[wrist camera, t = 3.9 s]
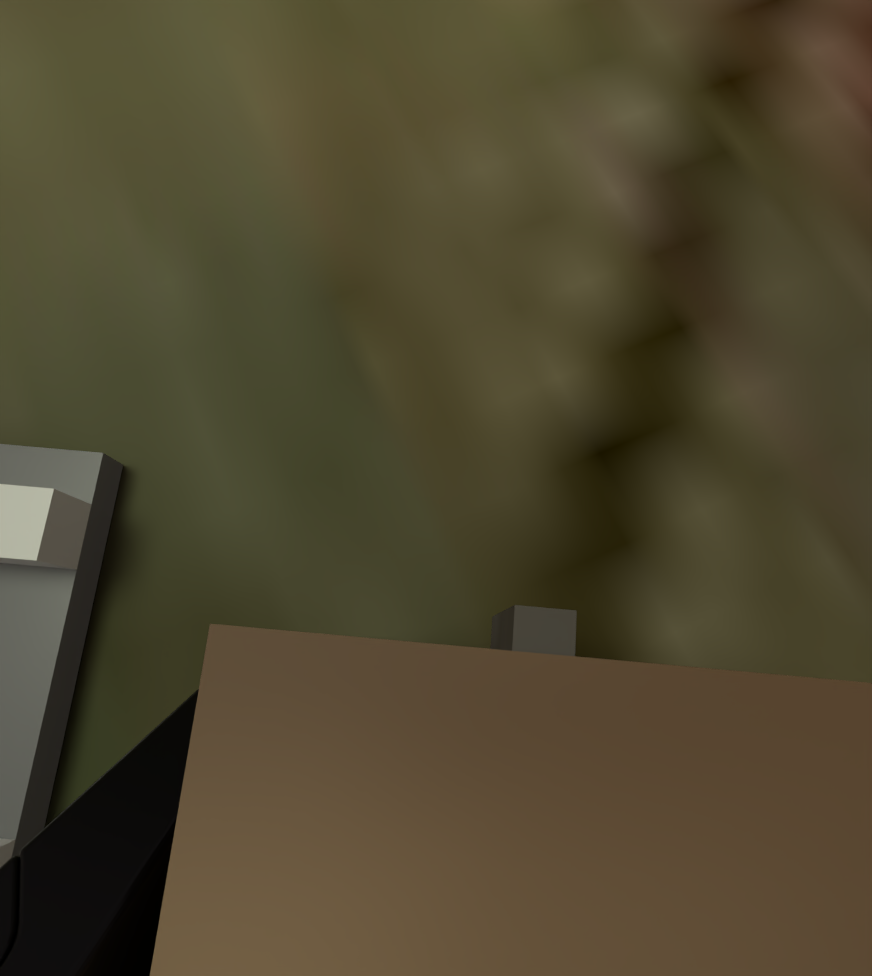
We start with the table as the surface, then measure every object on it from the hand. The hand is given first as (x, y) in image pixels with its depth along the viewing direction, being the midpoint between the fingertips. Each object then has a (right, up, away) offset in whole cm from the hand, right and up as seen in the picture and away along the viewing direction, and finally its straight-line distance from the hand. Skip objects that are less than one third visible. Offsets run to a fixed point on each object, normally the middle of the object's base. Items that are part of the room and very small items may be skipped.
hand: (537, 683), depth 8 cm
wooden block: (0, -3, +6) cm, 7 cm away
